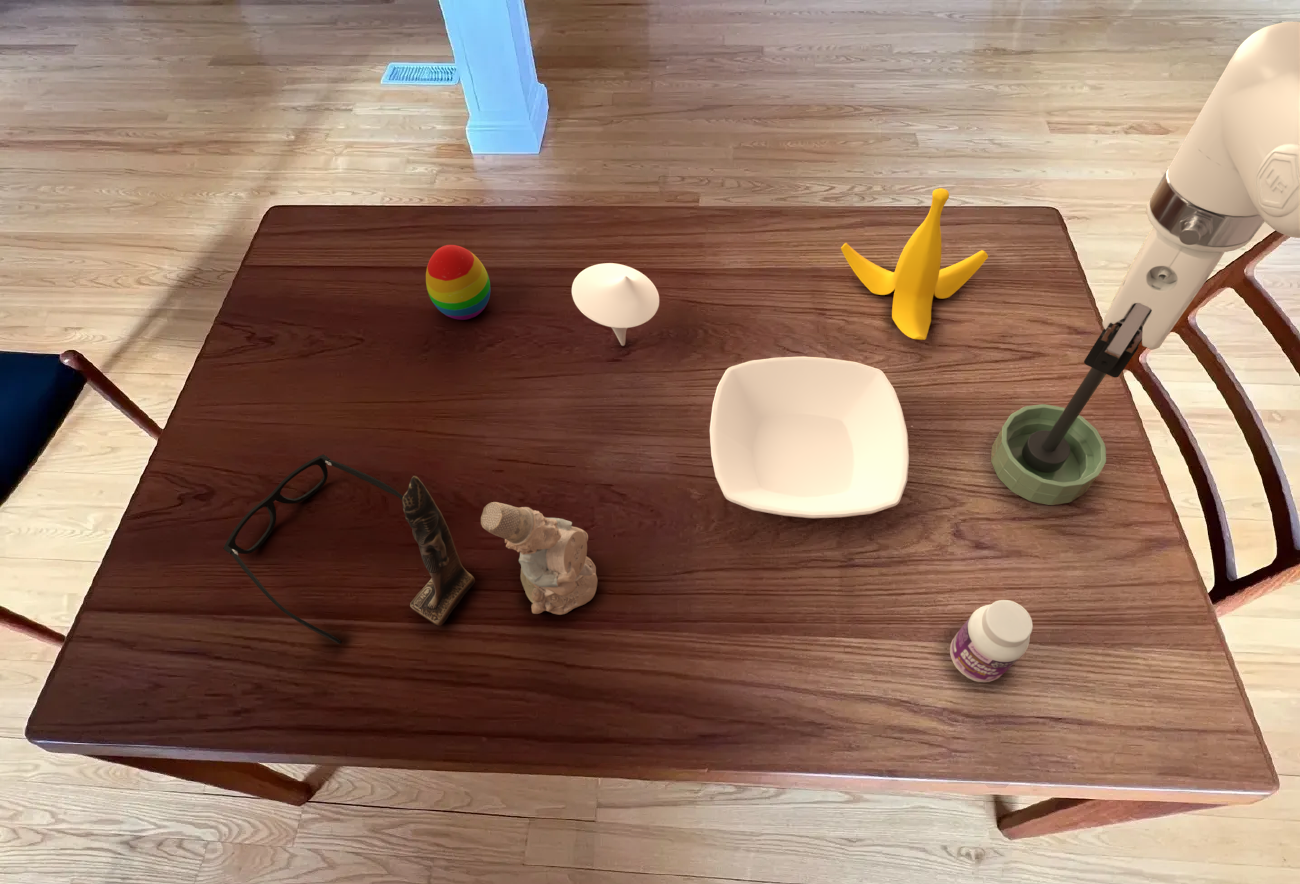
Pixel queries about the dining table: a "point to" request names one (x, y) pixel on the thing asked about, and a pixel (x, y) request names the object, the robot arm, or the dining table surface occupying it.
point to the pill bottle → (991, 640)
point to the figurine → (545, 556)
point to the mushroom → (615, 297)
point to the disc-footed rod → (1060, 430)
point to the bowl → (809, 438)
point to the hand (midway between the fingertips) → (1105, 360)
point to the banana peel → (917, 273)
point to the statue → (435, 556)
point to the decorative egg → (457, 282)
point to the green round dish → (1055, 485)
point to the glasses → (269, 504)
